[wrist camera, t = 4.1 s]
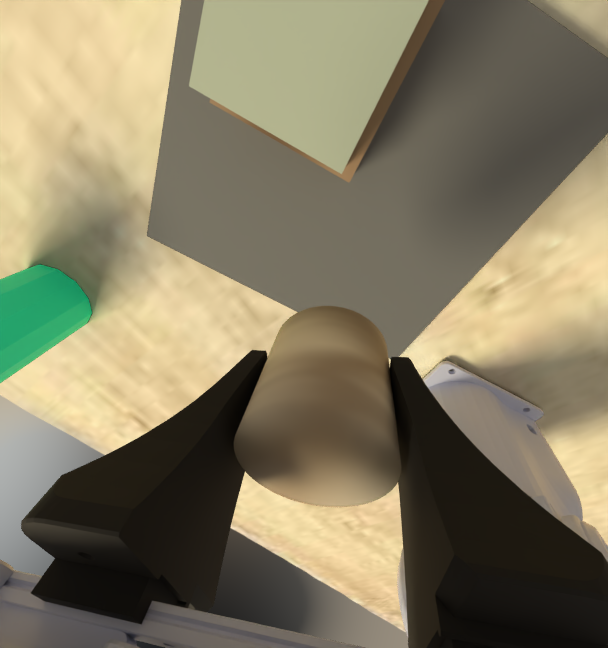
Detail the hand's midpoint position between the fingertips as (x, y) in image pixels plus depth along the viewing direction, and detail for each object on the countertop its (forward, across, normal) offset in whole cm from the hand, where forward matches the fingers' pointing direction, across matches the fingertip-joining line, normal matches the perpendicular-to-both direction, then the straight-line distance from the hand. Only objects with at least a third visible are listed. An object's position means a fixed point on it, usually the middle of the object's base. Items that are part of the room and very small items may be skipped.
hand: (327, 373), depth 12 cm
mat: (+10, 0, -6) cm, 11 cm away
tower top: (+6, +1, -11) cm, 13 cm away
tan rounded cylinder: (+1, 0, 0) cm, 1 cm away
